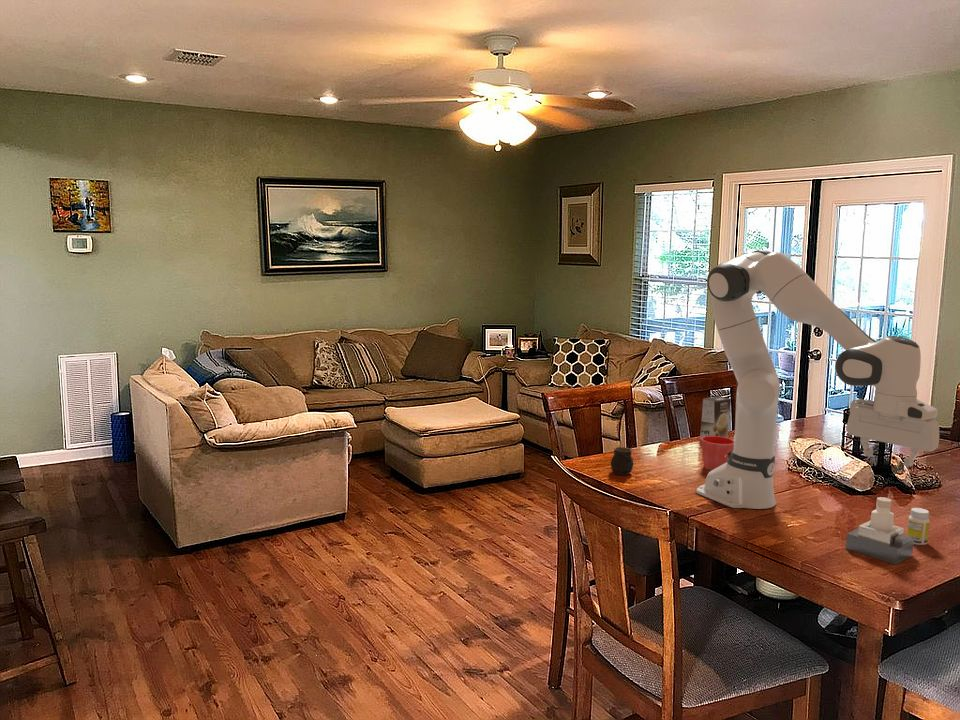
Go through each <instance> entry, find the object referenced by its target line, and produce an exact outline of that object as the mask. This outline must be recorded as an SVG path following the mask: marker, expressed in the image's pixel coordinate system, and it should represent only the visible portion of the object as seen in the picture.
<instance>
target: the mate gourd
mask: <svg viewBox="0 0 960 720" xmlns="http://www.w3.org/2000/svg"><path fill="white" fill-rule="evenodd" d="M634 447H635V445H632V446H631V447H630V448H629V447H625V446H617V447H614V449H613V456H612V458H611V460H610V467H611V471H612V472H613V474H616V475H618V476H626V475H629V474H630V473H631V472H632V470H633V468H634V462H633V461H634V460H633V458H632V457H633V456H632V451H633V450H632V449H633V448H634Z"/></svg>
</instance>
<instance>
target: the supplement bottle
mask: <svg viewBox="0 0 960 720" xmlns="http://www.w3.org/2000/svg"><path fill="white" fill-rule="evenodd" d="M929 515H930V511H929V510H928V509H924V508H921V507H912V508H911V509H910V515H908V518H907V527H906V528H907V531H906V535H908V536H910V539H912V540H914V543H913V545H917V546H924V545H925V546H926V545H927V544H928V543H929V532H930V524H931V523H930V522H931V521H930V518H929Z"/></svg>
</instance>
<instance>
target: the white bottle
mask: <svg viewBox="0 0 960 720" xmlns="http://www.w3.org/2000/svg"><path fill="white" fill-rule="evenodd" d="M875 506H876V507H875V509H874V510H872V511H871V515H870V520H871V522H870V528H873V529H876V530H880V531H883V532H887V533H889V532H891V531H892V529H893V525H894V519H895V514H894V513H893V512H891V508H892V499H891V498H889V497H882V496H880V497H877V498H876V504H875Z"/></svg>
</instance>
